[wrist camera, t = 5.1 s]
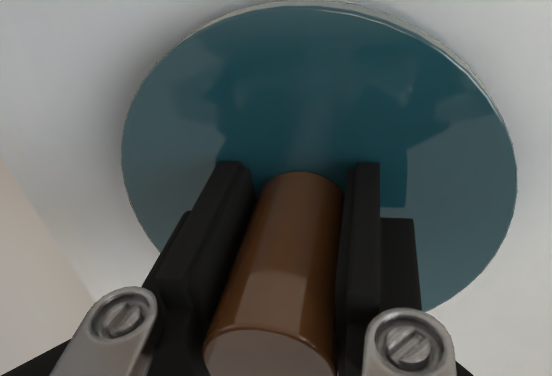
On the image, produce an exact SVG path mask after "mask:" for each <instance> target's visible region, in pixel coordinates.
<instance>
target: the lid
mask: <svg viewBox="0 0 552 376" xmlns="http://www.w3.org/2000/svg"><path fill="white" fill-rule="evenodd" d="M220 161H241V162H242V164H243V166H244V167H249V168H250V171H251V176H252V182H253V187H254V193H255V199H256V202H255V205H254V208H253V210H252V213H251V216H250V218H249V221H248V224H247V226H246V229H245V232H244V234H243V237H242V240H241V242H240V245H239V248H238V250H237V253H236V256H235V258H234V261H233V264H232V266H231V269H230V272H229V274H228V277H227V280H226V283H225V285H224V288H223V291H222V293H221V296H220V299H219V301H218V304H217V307H216V309H215V312H214V315H213V317H212V320H211V323H210V325H209V328H208V331H207V333H206V336H205V339H204V341H203V344H202V349H201V350H202V360H203V363H204V366H205V368H206V369H207V371H208V372H209V374H210V375H211V376H338V364H339V352H340V345H339V340H338V337H337V335H336V315H335V281H336V271H337V262H338V252H339V243H340V234H341V225H342V216H343V206H344V197H345V188H346V179H347V170H348V168H355V169H356V167H357V163H380V217H385V218H412V219H413V221H414V230H415V240H416V251H417V261H418V272H419V282H420V292H421V303H422V311H423V312H427V311H429V310H431V309H433V308H435V307H437V306H439V305H440V304H442V303H444V302H446V301H447V300H449V299H451V298H452V297H454V296H455V295H456V294H458V293H459V292H460V291H462V290H463V289H464V288H466V287H467V286H468V285H469V284H470V283H471V282H472V281H473V280H474V279H475V278H476V277H477V276H478V275H480V274H481V273H482V272H483V270H484V269H485V268H486V266H487V265H488V264H489V263H490V261H491V260H492V259H493V257H494V256H495V255H496V253H497V251H498V249H499V248H500V246H501V244H502V242H503V240H504V239H505V237H506V234H507V231H508V228H509V226H510V223H511V220H512V217H513V214H514V209H515V203H516V197H517V165H516V160H515V155H514V149H513V144H512V141H511V139H510V136H509V133H508V131H507V128H506V126H505V123H504V120H503V118H502V116H501V114H500V112H499V110H498V108H497V106H496V105H495V103H494V101H493V100H492V98H491V96H490V95H489V93H488V91H487V90H486V88H485V86H484V85H483V84H482V83H481V81H480V80H479V79H478V78H477V77H476V75H475V74H474V73H473V72H472V71H471V70H470V68H469V67H468V66H467V65H466V64H465V63H464V62H463V61H462V60H461V59H460V58H459V57H457V56H456V55H455V54H454V53H453V52H452V51H450V50H449V49H448V48H447V47H446V46H445V45H444V44H442V43H441V42H439V41H438V40H436V39H435V38H433V37H431V36H430V35H428V34H427V33H425V32H423V31H422V30H420V29H419V28H417V27H416V26H413V25H411V24H409V23H407V22H404V21H402V20H400V19H398V18H395V17H393V16H391V15H389V14H386V13H383V12H380V11H376V10H373V9H369V8H366V7H362V6H359V5H355V4H349V3H342V2H335V1H328V0H284V1H277V2H270V3H263V4H257V5H254V6H250V7H247V8H244V9H240V10H237V11H234V12H230V13H228V14H226V15H224V16H222V17H219V18H217V19H215V20H213V21H211V22H209V23H207V24H205V25H203V26H202V27H200V28H199V29H197V30H196V31H194V32H193V33H191V34H190V35H188V36H187V37H185V38H184V39H182V40H181V41H180V42H179V43H178V44H177V45H175V46H174V47H173V48H172V49H171V50H170V51H169V52H168V53H167V54H166V55H165V56H164V57H163V58H161V59H160V60H159V61H158V62H157V63H156V64H155V66H154V67H153V68H152V70H151V71H150V72H149V74H148V75H147V76H146V78H145V79H144V80H143V81H142V83H141V85H140V87H139V89H138V91H137V93H136V94H135V96H134V98H133V100H132V102H131V105H130V108H129V111H128V114H127V117H126V120H125V124H124V130H123V137H122V144H121V164H122V171H123V178H124V184H125V188H126V191H127V194H128V197H129V201H130V204H131V206H132V208H133V210H134V213H135V215H136V217H137V219H138V221H139V223H140V225H141V226H142V228H143V230H144V231H145V233H146V235H147V236H148V238H149V239H150V240H151V242H152V243H153V244H154V246H155V247H156V248H157V250H158V251H159V252H160V253H161V252H162V250H163V248H164V247H165V245H166V243H167V241H168V240H169V238H170V236H171V234H172V233H173V231H174V229H175V227H176V226H177V224H178V222H179V220H180V219H181V217H182V215H183V214H184V213H185V212H186V211H188V210H189V211H191V210H192V208H193V206H194V205H195V203H196V201H197V199H198V197H199V196H200V194H201V192H202V190H203V188H204V187H205V185H206V183H207V181H208V179H209V177H210V176H211V174H212V172H213V170H214V168H215V167H216V165H217V163H218V162H220Z"/></svg>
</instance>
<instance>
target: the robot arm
mask: <svg viewBox="0 0 552 376" xmlns="http://www.w3.org/2000/svg"><path fill="white" fill-rule="evenodd" d="M255 202H256V199H255V193H254V187H253V182H252V176H251V171H250V168H249V167H244V166H243V164H242V162H241V161H220V162H218V163H217V165H216V167H215V168H214V170H213V172H212V174H211V176H210V177H209V179H208V181H207V183H206V185H205V187H204V188H203V190H202V192H201V194H200V196H199V197H198V199H197V201H196V203H195V205H194V206H193V208H192V210H191V211H189V210H188V211H186V212H185V213H184V214H183V215H182V217H181V219H180V220H179V222H178V224H177V226H176V227H175V229H174V231H173V233H172V234H171V236H170V238H169V240H168V241H167V243H166V245H165V247H164V248H163V250H162V252H161V254H160V255H159V257H158V259H157V261H156V262H155V264H154V266H153V268H152V269H151V271H150V273H149V275H148V276H147V278H146V280H145V282H144V283H143V285H142V287H137V286H132V287H124V288H120V289H117V290H114V291H112V292H110V293H108V294H107V295H105V296H103V297H102V298H101V299H99V300H98V301H97V302H96V303H95V304H94V305H93V306H92V307H91V309H90V310H89V311H88V312H87V314H86V316H85V317H84V319H83V321H82V322H81V324H80V326H79V327H78V329H77V330H76V332H75V334H74V335H73V337H72V338H71V339H70V340H68V341H66V342H64V343H62V344H60V345H58V346H56V347H54V348H53V349H51V350H49V351H47V352H45V353H43V354H41V355H39V356H37V357H35V358H34V359H32V360H30V361H28V362H26V363H24V364H22V365H20V366H18V367H17V368H15V369H13V370H11V371H9V372H7V373H5V374H3V375H1V376H211V375H210V374H209V372H208V371H207V369H206V368H205V366H204V363H203V360H202V350H201V349H202V344H203V341H204V339H205V336H206V333H207V331H208V328H209V325H210V323H211V320H212V317H213V315H214V312H215V309H216V307H217V304H218V301H219V299H220V296H221V293H222V291H223V288H224V285H225V283H226V280H227V277H228V274H229V272H230V269H231V266H232V264H233V261H234V258H235V256H236V253H237V250H238V248H239V245H240V242H241V240H242V237H243V234H244V232H245V229H246V226H247V224H248V221H249V218H250V216H251V213H252V210H253V208H254V205H255ZM335 315H336V335H337V337H338V340H339V345H340V352H339V364H338V376H473V375H472V374H471V373H470V372H469V371H467V370H466V369H465V368H464V367H463V366H461V365H460V364H459V363H458V362H457V361H455V353H454V346H453V342H452V339H451V336H450V334H449V333H448V331H447V330H446V328H445V327H444V325H442V324H441V323H440V322H439V321H438V320H437V319H435V318H434V317H433V316H431V315H429V314H427V313H425V312H423V311H422V303H421V292H420V282H419V272H418V261H417V251H416V240H415V230H414V221H413V219H412V218H385V217H380V163H357V167H356V169H355V168H348V170H347V179H346V188H345V197H344V206H343V216H342V225H341V234H340V243H339V252H338V262H337V271H336V281H335Z"/></svg>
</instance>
